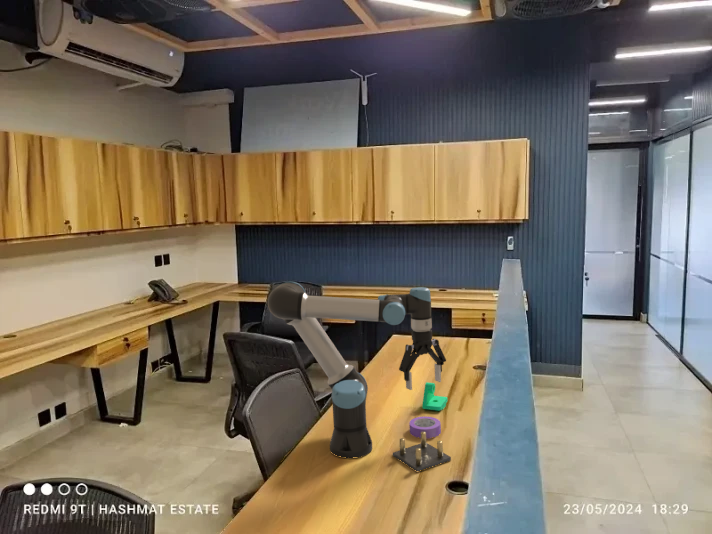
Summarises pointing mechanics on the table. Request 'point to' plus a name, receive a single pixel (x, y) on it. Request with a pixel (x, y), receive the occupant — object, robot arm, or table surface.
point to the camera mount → (433, 398)
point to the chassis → (421, 454)
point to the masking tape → (425, 426)
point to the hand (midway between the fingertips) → (423, 385)
